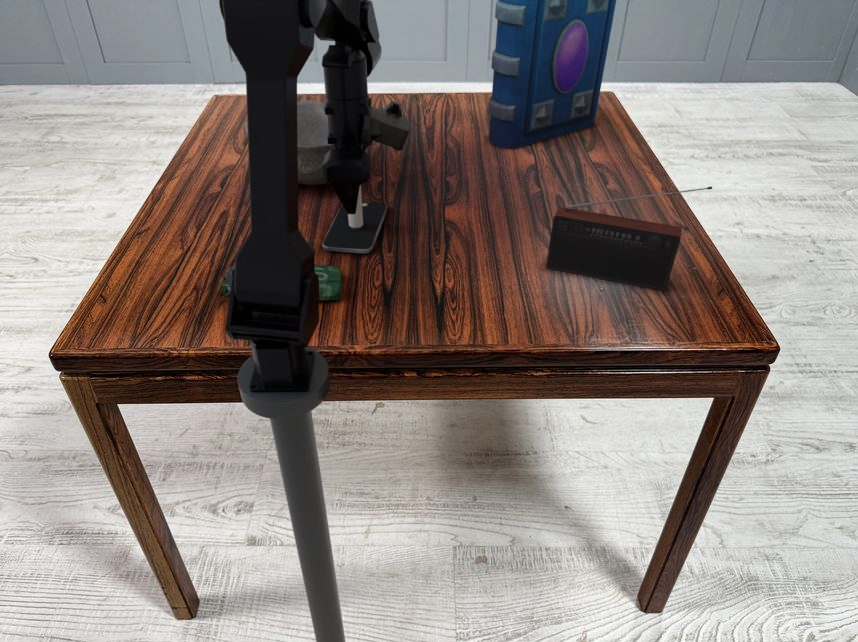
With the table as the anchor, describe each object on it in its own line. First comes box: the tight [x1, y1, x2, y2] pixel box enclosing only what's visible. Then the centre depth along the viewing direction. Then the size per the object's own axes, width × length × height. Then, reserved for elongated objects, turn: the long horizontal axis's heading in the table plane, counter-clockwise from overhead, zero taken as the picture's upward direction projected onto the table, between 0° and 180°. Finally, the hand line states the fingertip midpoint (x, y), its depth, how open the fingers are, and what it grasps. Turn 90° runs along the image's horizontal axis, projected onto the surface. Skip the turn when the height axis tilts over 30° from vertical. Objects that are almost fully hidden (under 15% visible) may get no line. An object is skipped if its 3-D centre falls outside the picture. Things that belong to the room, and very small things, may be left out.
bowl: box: [244, 99, 336, 186], centre depth 114 cm, size 21×21×10 cm
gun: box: [220, 264, 344, 301], centre depth 90 cm, size 16×2×10 cm
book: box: [487, 0, 617, 150], centre depth 122 cm, size 24×9×30 cm, turn 123°
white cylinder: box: [348, 184, 363, 230], centre depth 99 cm, size 2×2×9 cm
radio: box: [545, 186, 713, 292], centre depth 87 cm, size 19×3×15 cm, turn 70°
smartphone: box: [321, 201, 388, 254], centre depth 102 cm, size 8×1×15 cm
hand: (353, 199), depth 98 cm, fingers open, 9 cm apart
